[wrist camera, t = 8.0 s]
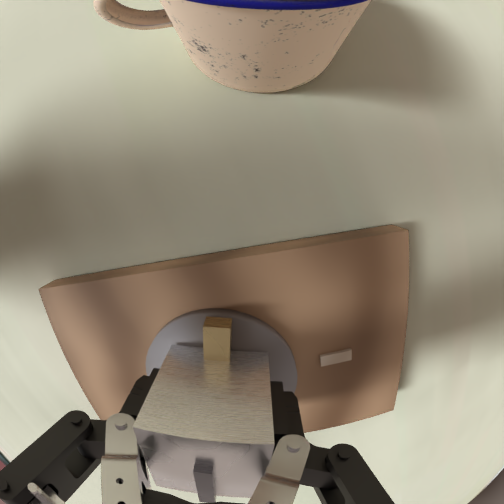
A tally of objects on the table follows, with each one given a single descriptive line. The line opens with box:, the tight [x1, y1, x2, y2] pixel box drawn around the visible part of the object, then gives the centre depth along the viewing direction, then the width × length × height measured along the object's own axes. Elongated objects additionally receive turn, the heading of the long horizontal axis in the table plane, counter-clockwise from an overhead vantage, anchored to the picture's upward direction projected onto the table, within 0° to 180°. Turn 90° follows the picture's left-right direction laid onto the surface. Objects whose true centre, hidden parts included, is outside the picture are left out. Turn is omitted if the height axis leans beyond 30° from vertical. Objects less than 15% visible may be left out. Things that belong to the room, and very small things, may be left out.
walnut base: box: [39, 225, 409, 433], centre depth 15 cm, size 22×13×3 cm, turn 100°
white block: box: [133, 316, 275, 503], centre depth 10 cm, size 8×5×6 cm, turn 177°
